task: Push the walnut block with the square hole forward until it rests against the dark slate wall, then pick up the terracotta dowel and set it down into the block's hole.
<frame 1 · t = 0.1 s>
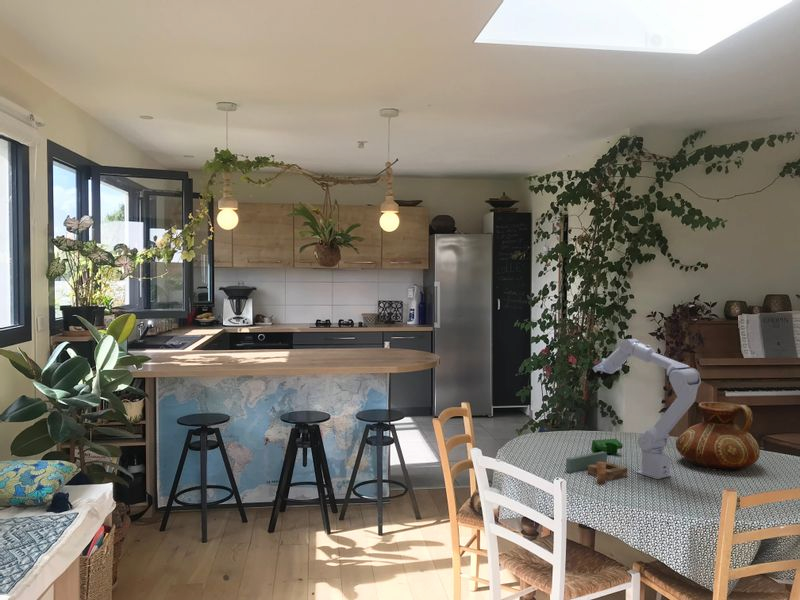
hand: (595, 379, 268), 32 cm above the table, tool tilted 50°, fingers open, 7 cm apart
wall: (586, 468, 253), on the table
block: (607, 474, 244), on the table
jug: (716, 464, 260), on the table
dowel: (601, 482, 235), on the table
clamp: (607, 455, 273), on the table
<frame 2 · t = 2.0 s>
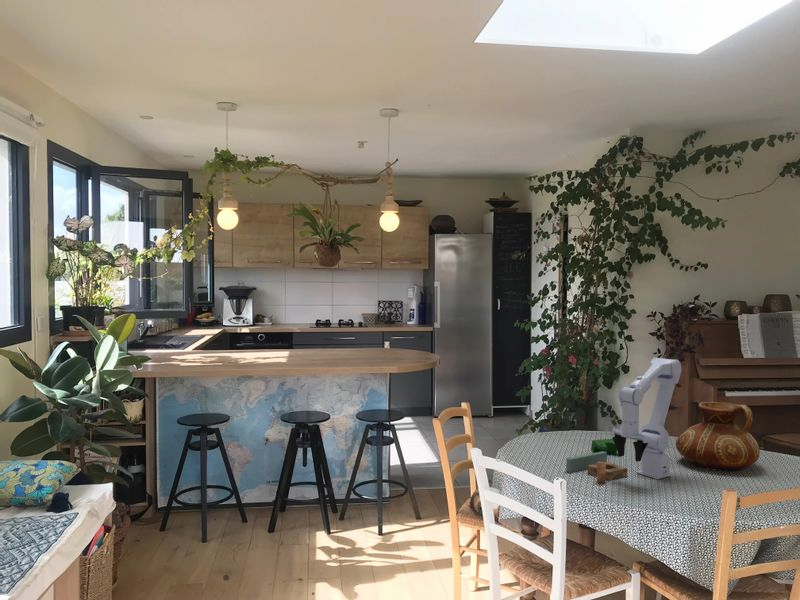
hand: (629, 458, 235), 8 cm above the table, tool pointing down, fingers open, 7 cm apart
nothing on the table moved.
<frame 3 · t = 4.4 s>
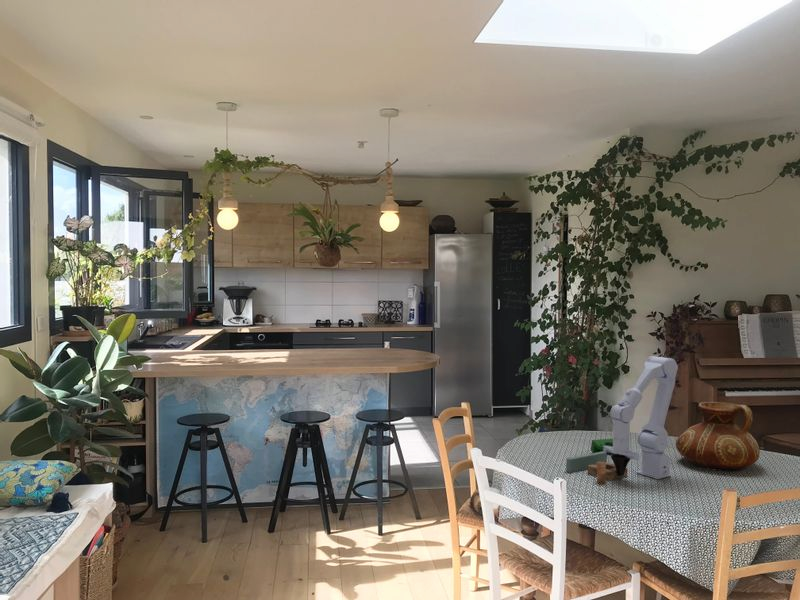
hand: (620, 475, 239), 1 cm above the table, tool pointing down, fingers closed
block: (607, 474, 244), on the table, touching gripper
everything else where it was.
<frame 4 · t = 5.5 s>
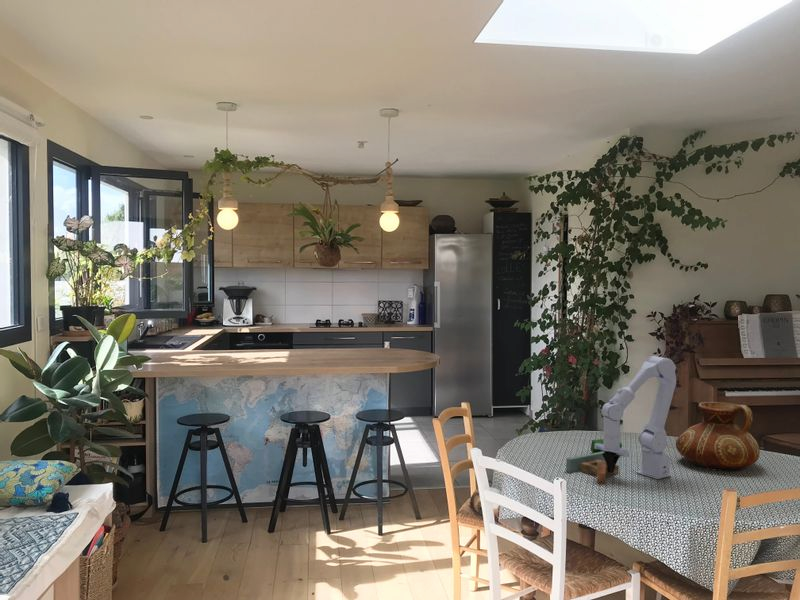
hand: (611, 472, 243), 1 cm above the table, tool pointing down, fingers closed
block: (599, 472, 248), on the table, touching gripper, wall
everything else where it was.
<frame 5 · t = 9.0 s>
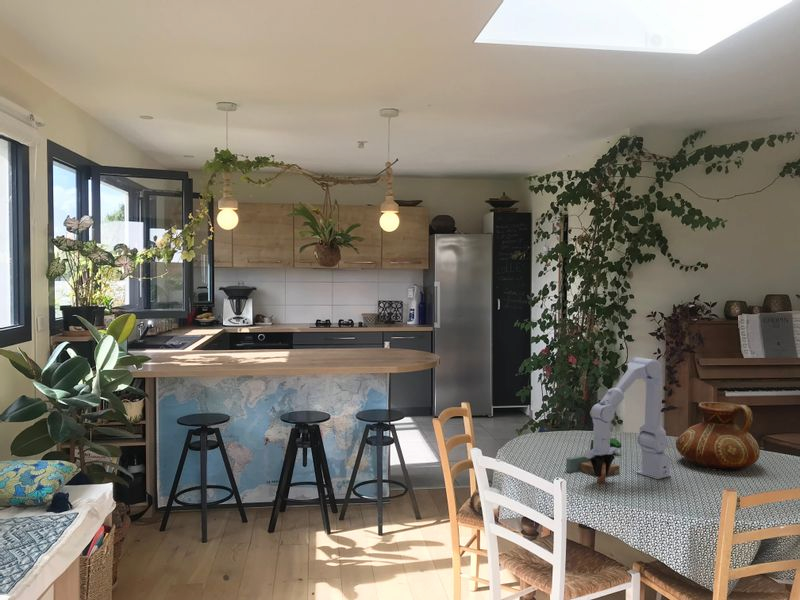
hand: (601, 475, 235), 2 cm above the table, tool pointing down, fingers closed on dowel, 3 cm apart
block: (599, 472, 247), on the table
dowel: (601, 482, 235), on the table, touching gripper
everything else where it was.
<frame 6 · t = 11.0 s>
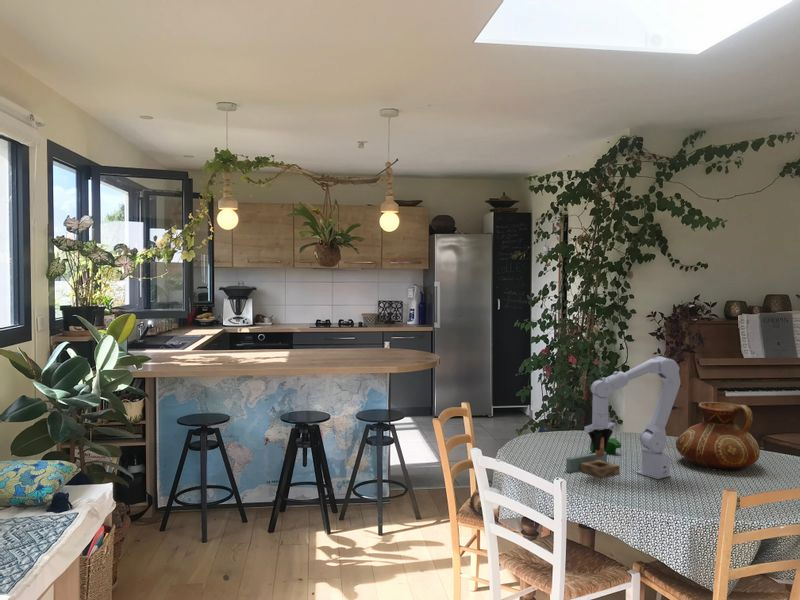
hand: (599, 449, 245), 9 cm above the table, tool pointing down, fingers closed on dowel, 3 cm apart
dowel: (599, 455, 245), point 7 cm above the table, touching gripper
everything else where it was.
when the fingers open (4 cm above the table, at t = 12.9 s): dowel drops 1 cm, resting in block.
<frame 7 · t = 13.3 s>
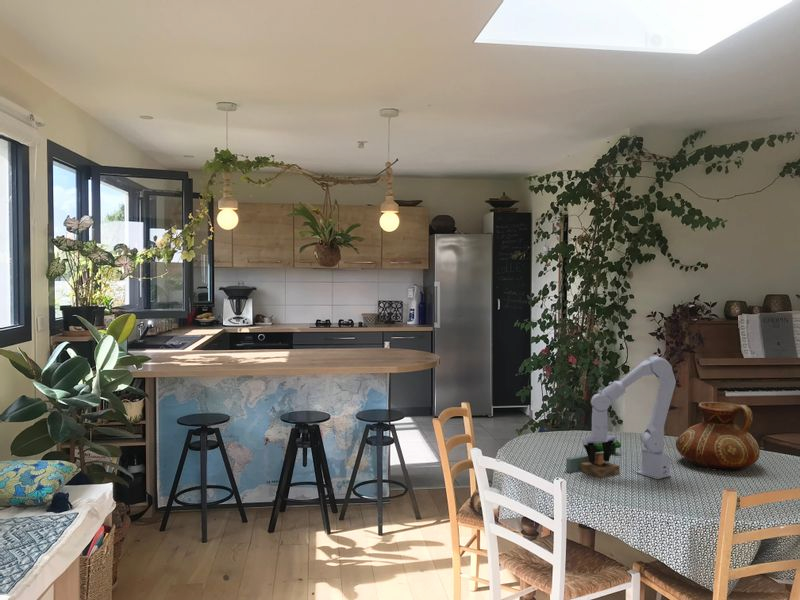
hand: (599, 461, 247), 4 cm above the table, tool pointing down, fingers open, 6 cm apart
dowel: (598, 472, 248), resting in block
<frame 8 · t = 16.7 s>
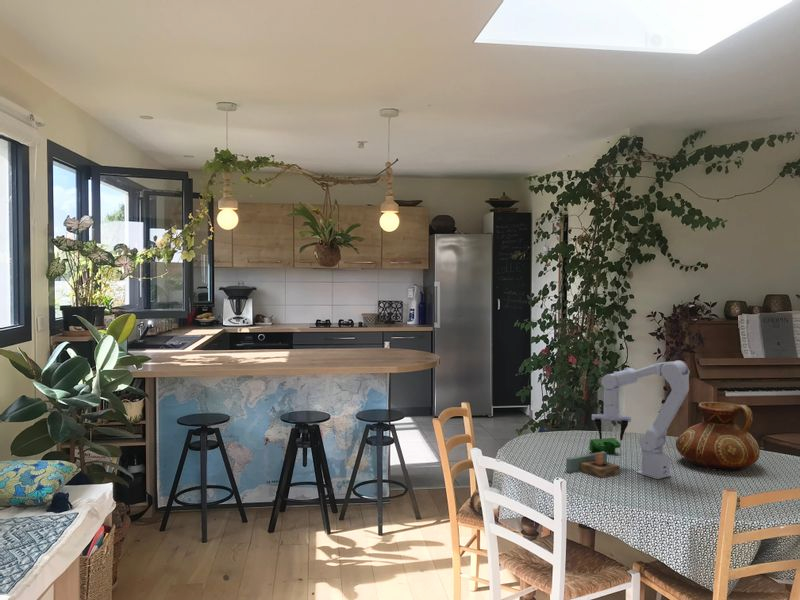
hand: (610, 439, 256), 10 cm above the table, tool pointing down, fingers open, 7 cm apart
at the end: dowel 0.3 cm off-centre on the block, point 0.0 cm above the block's base; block 0.1 cm from the target spot, on the table; dowel tilted 0° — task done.
